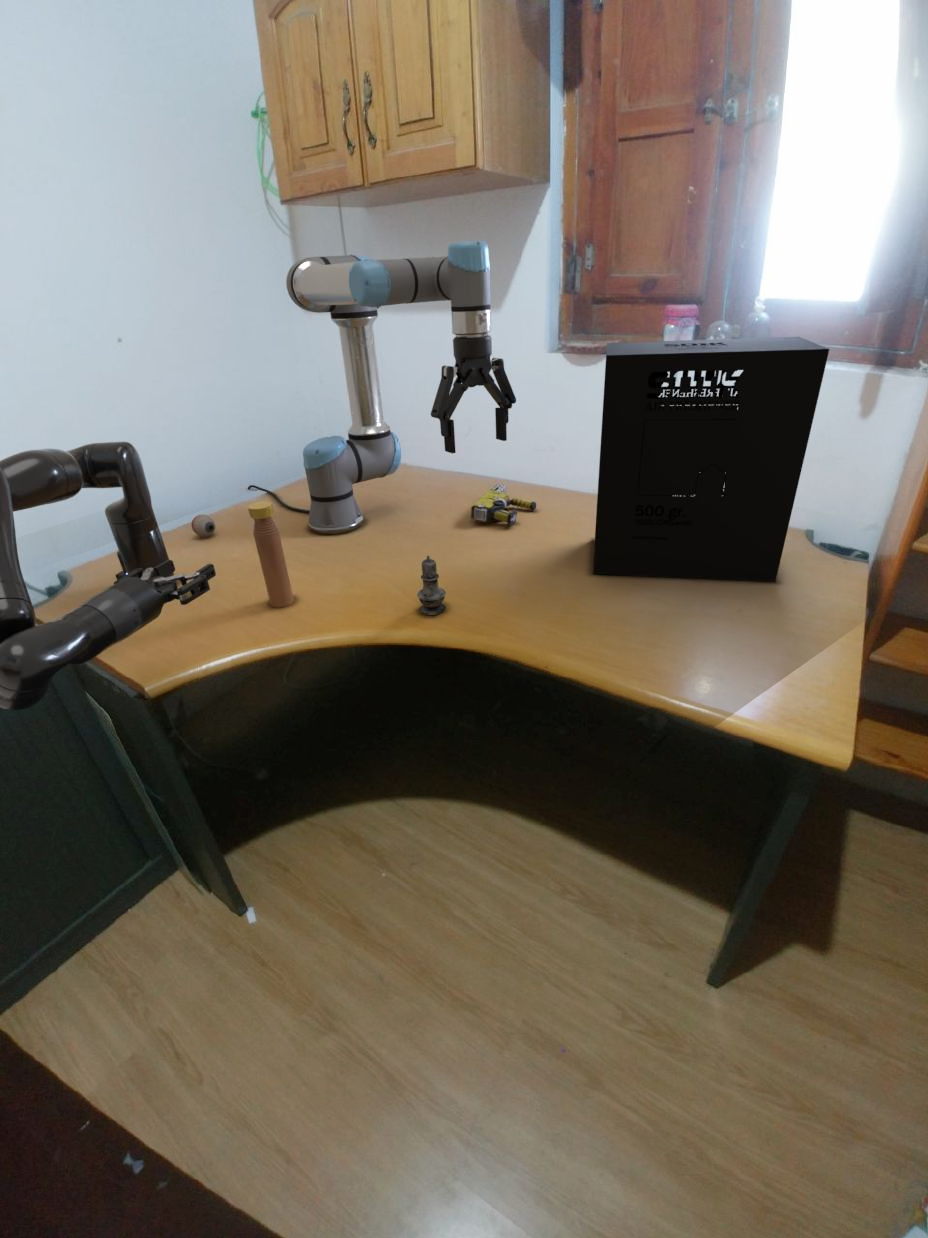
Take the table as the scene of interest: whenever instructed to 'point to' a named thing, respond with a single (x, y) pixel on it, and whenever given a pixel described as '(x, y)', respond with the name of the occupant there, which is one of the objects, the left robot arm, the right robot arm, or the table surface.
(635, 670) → the table surface
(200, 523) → the eyeball
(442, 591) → the dark grey tiered piece
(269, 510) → the cap
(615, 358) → the cardboard box
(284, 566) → the bottle
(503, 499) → the toy gun
